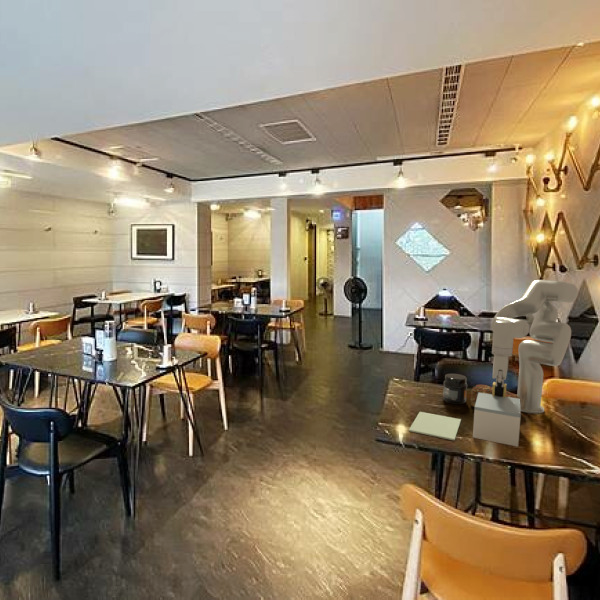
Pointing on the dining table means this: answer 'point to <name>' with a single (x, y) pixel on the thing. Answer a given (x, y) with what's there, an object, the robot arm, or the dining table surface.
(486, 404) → the lid
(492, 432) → the open box
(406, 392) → the dining table surface
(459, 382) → the supplement container
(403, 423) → the dining table surface
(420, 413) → the mat
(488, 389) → the bread
